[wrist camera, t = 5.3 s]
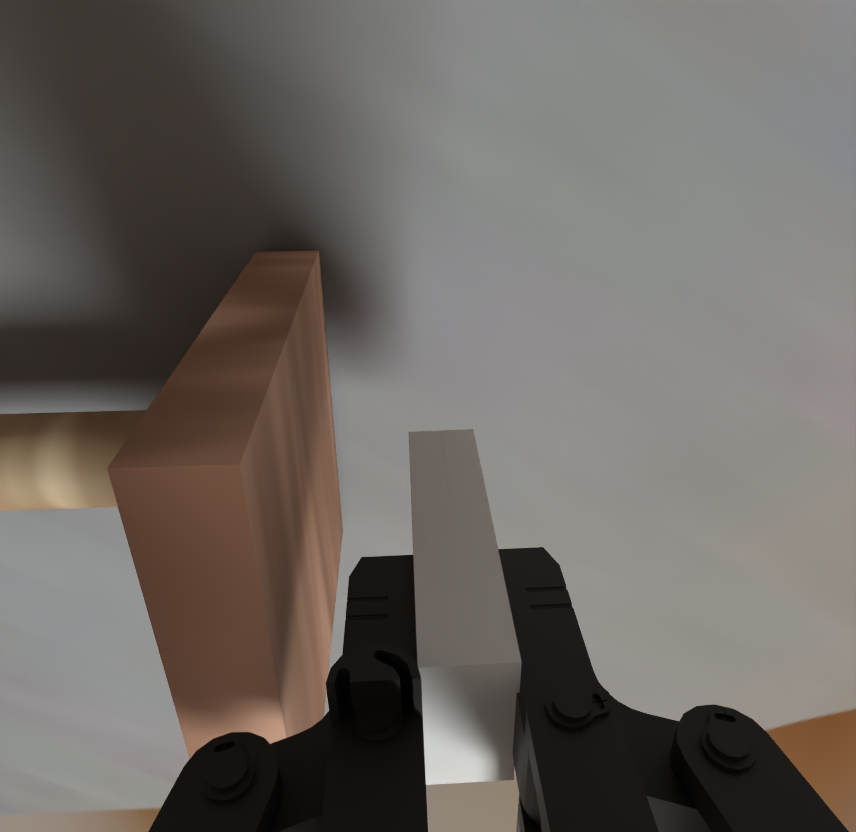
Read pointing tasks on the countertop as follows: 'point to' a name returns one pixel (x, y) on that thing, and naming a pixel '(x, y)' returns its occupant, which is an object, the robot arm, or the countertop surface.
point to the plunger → (219, 503)
